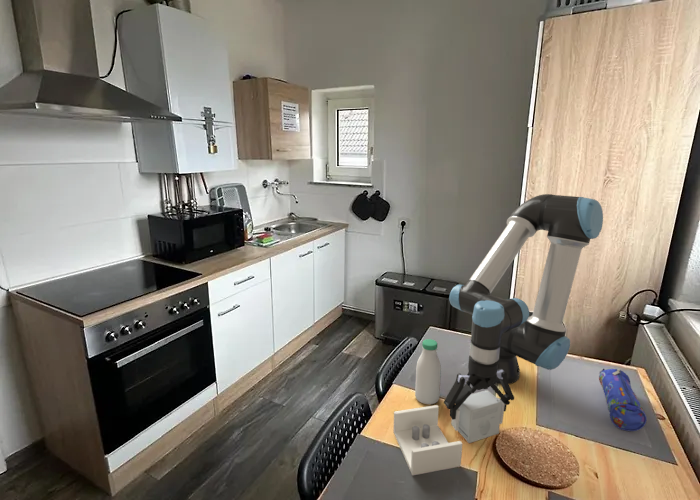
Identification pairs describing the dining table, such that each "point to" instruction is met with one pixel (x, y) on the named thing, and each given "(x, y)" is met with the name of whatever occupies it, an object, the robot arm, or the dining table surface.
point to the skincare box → (479, 416)
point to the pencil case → (622, 400)
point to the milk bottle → (428, 374)
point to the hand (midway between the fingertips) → (476, 424)
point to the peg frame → (425, 441)
